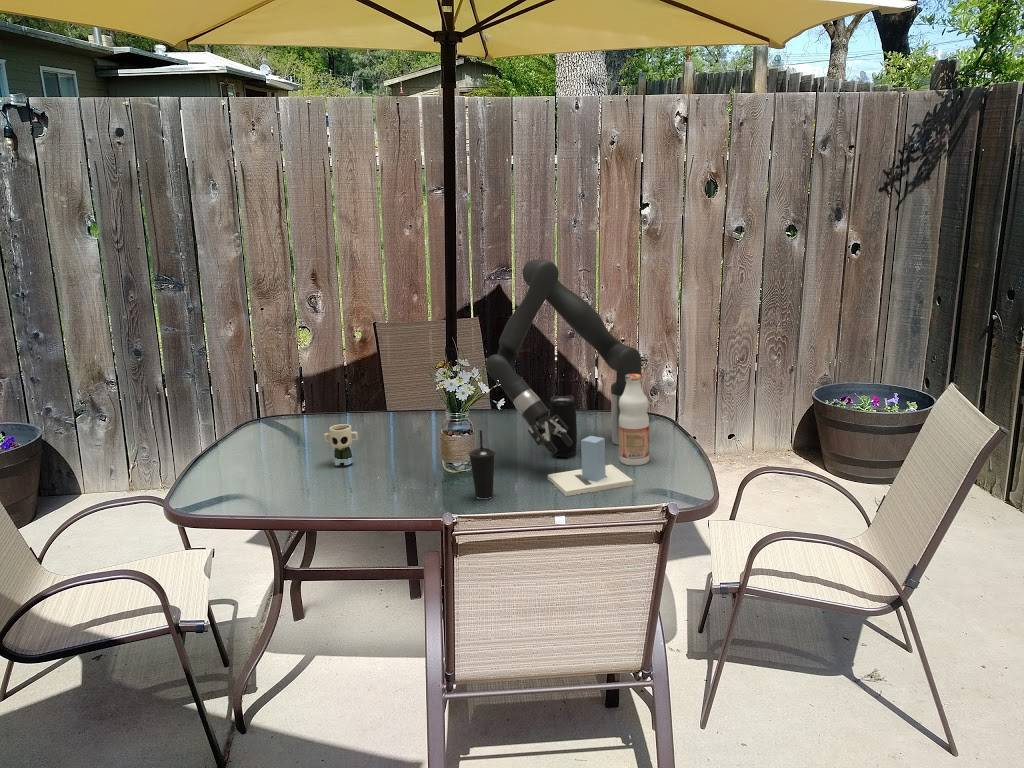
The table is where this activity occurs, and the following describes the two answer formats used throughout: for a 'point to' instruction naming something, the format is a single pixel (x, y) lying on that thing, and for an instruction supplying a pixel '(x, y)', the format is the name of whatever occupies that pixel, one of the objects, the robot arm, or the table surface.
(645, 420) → the fruit juice
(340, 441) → the character mug
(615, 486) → the letter board
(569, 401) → the portable speaker
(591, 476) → the slate pillar
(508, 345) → the robot arm
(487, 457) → the drinking cup
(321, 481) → the table surface
